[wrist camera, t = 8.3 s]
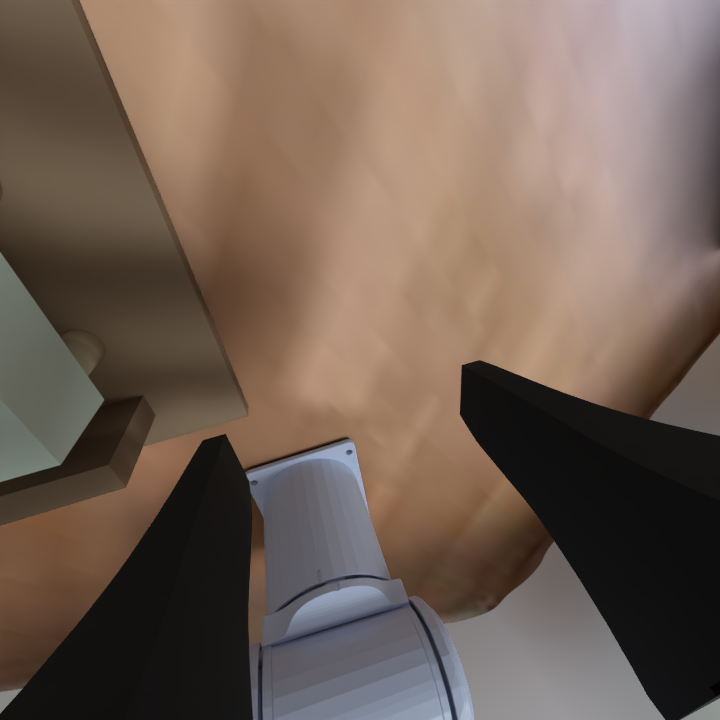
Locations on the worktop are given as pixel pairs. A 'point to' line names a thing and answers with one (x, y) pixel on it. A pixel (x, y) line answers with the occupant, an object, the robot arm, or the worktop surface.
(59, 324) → the peg base
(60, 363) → the pale green block
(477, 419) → the robot arm
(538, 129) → the worktop surface
